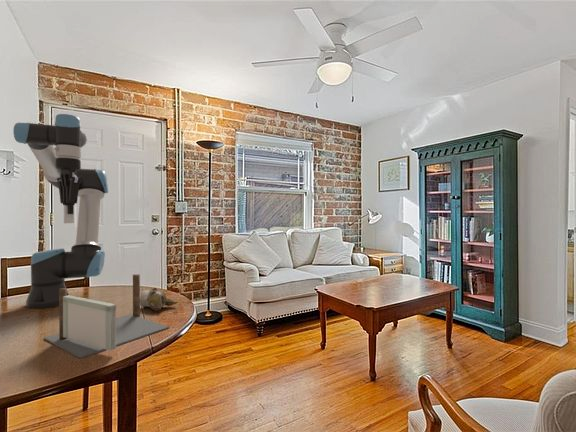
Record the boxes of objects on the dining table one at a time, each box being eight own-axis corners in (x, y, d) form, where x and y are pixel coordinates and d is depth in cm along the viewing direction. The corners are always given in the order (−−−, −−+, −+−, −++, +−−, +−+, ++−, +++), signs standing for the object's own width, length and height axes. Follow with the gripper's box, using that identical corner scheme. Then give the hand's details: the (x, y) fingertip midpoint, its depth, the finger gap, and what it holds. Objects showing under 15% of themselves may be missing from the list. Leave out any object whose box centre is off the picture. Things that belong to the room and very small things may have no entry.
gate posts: (57, 340, 100) (57, 289, 100) (137, 315, 125) (136, 273, 125) (61, 342, 99) (61, 289, 99) (141, 316, 124) (141, 274, 123)
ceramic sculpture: (152, 282, 142) (179, 288, 136) (152, 302, 142) (178, 308, 136) (132, 288, 132) (159, 294, 126) (131, 309, 133) (158, 316, 126)
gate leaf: (63, 336, 99) (62, 296, 99) (69, 334, 101) (69, 295, 101) (109, 350, 89) (109, 306, 89) (115, 348, 91) (115, 304, 91)
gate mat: (44, 339, 101) (44, 337, 101) (129, 315, 125) (129, 314, 125) (80, 358, 88) (80, 356, 88) (169, 328, 111) (169, 326, 111)
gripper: (48, 158, 118) (49, 222, 119) (64, 155, 111) (65, 224, 112) (71, 160, 125) (72, 222, 125) (88, 158, 117) (88, 223, 118)
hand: (68, 223), depth 119 cm, fingers closed
